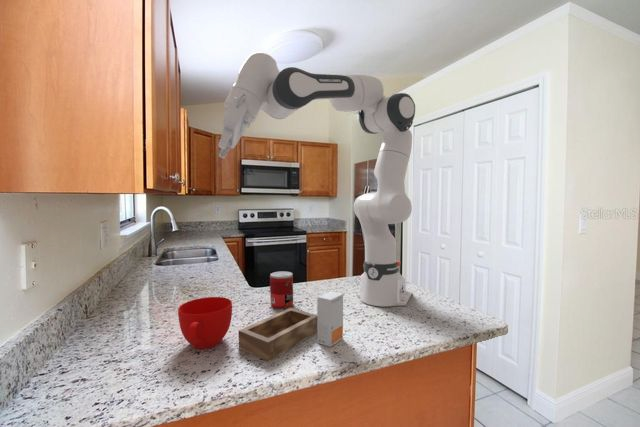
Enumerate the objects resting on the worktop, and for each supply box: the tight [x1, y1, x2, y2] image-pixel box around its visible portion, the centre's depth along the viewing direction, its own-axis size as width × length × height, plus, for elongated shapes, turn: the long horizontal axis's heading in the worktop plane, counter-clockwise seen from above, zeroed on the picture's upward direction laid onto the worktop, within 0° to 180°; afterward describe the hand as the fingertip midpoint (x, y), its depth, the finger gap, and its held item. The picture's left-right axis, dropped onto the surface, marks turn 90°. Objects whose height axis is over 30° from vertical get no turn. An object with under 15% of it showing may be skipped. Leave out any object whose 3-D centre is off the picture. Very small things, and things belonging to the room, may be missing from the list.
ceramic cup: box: [177, 296, 233, 350], centre depth 75 cm, size 13×17×10 cm
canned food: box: [269, 270, 294, 310], centre depth 104 cm, size 8×8×11 cm
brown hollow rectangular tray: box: [237, 307, 317, 363], centre depth 79 cm, size 19×10×4 cm, turn 143°
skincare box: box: [316, 291, 344, 348], centre depth 77 cm, size 6×4×12 cm
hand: (221, 152), depth 79 cm, fingers open, 8 cm apart
